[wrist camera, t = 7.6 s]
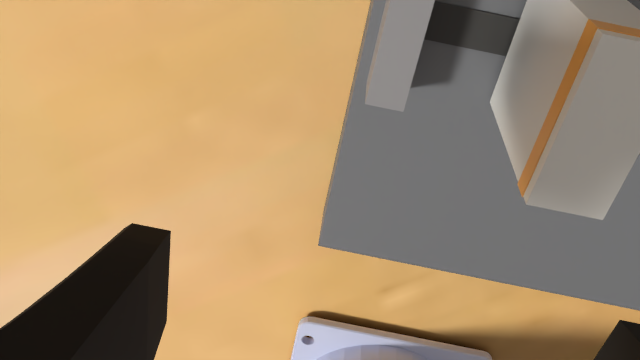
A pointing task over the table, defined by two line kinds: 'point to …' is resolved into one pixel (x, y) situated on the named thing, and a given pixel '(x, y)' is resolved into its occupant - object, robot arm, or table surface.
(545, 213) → the console
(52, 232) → the table surface
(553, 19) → the fader tab
